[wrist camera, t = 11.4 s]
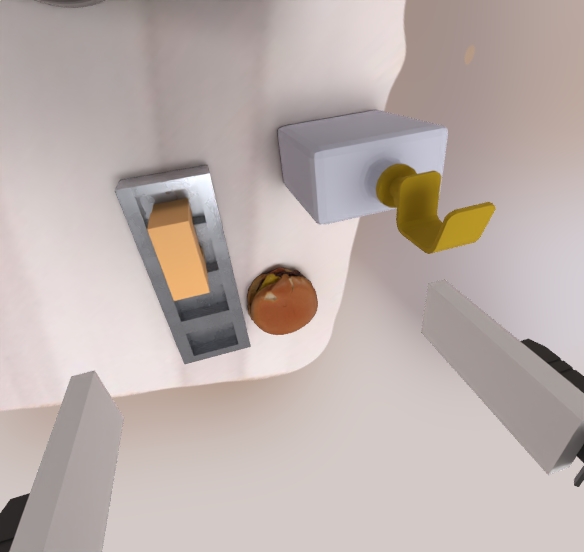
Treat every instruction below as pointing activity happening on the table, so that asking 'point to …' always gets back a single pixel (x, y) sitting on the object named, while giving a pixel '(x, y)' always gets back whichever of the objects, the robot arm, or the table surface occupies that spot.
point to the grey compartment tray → (223, 292)
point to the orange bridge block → (178, 249)
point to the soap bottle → (377, 175)
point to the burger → (281, 301)
